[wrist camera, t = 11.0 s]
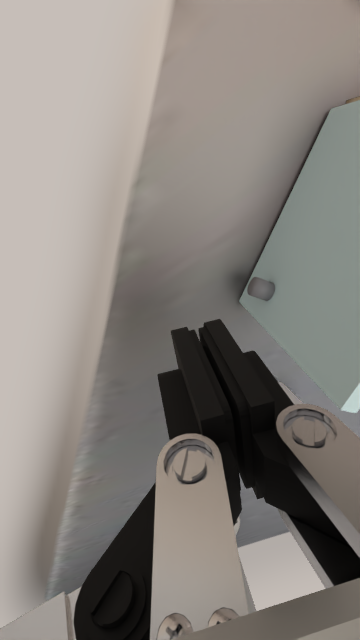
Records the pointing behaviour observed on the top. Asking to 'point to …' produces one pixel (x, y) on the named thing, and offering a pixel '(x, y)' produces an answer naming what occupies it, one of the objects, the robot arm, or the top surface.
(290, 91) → the top surface
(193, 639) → the robot arm
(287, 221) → the door
